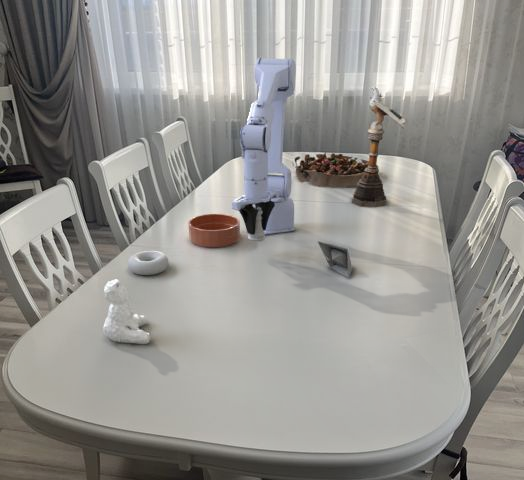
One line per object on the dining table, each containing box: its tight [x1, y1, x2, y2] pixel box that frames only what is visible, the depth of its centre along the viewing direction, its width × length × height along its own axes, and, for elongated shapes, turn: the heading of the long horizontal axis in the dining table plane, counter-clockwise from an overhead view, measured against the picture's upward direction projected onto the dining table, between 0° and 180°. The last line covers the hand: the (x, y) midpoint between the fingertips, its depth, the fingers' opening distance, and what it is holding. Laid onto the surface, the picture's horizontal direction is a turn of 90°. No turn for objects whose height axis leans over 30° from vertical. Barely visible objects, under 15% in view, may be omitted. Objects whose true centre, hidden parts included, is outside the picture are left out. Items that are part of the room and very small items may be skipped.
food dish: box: [291, 152, 380, 188], centre depth 209 cm, size 35×33×8 cm
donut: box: [127, 250, 170, 276], centre depth 135 cm, size 10×4×10 cm
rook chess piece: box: [247, 206, 266, 243], centre depth 139 cm, size 4×4×8 cm
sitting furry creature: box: [102, 278, 151, 345], centre depth 105 cm, size 10×9×12 cm
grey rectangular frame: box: [317, 241, 353, 279], centre depth 134 cm, size 12×6×9 cm
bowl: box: [187, 213, 241, 248], centre depth 152 cm, size 14×14×5 cm
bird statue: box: [351, 86, 407, 208], centre depth 173 cm, size 17×13×35 cm
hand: (256, 231), depth 140 cm, fingers closed on rook chess piece, 3 cm apart
